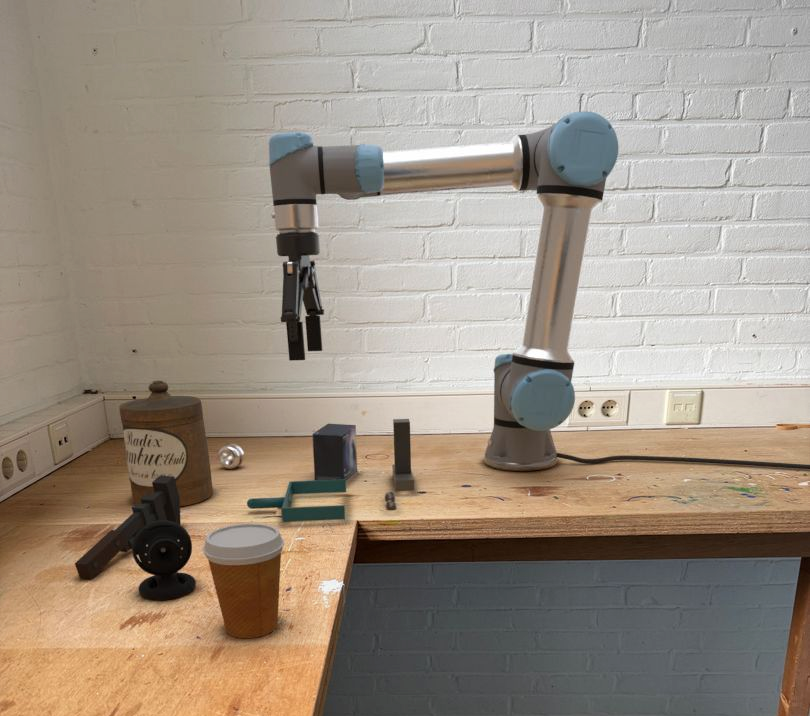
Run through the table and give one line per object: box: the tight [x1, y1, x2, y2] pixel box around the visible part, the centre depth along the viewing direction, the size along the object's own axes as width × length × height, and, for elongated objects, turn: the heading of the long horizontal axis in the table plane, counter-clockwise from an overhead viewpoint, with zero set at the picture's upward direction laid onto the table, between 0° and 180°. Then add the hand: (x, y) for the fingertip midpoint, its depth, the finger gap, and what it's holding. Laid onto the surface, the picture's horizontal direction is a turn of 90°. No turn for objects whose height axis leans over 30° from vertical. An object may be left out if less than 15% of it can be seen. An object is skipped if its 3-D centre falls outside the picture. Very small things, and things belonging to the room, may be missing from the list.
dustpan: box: [246, 479, 347, 523], centre depth 142 cm, size 17×17×3 cm
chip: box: [384, 491, 396, 503], centre depth 145 cm, size 2×4×2 cm, turn 3°
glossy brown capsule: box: [385, 499, 397, 511], centre depth 140 cm, size 2×4×2 cm, turn 3°
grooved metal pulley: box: [217, 443, 245, 470], centre depth 172 cm, size 5×3×5 cm, turn 71°
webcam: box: [131, 520, 197, 601], centre depth 108 cm, size 8×8×10 cm
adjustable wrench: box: [74, 476, 182, 580], centre depth 125 cm, size 8×3×25 cm
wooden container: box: [118, 380, 214, 507], centre depth 149 cm, size 15×15×22 cm
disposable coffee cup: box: [202, 522, 285, 639], centre depth 96 cm, size 10×10×12 cm
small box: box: [311, 423, 358, 482], centre depth 159 cm, size 11×6×10 cm, turn 168°
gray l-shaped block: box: [392, 418, 415, 492], centre depth 153 cm, size 4×12×13 cm, turn 3°
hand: (306, 355), depth 147 cm, fingers open, 13 cm apart
